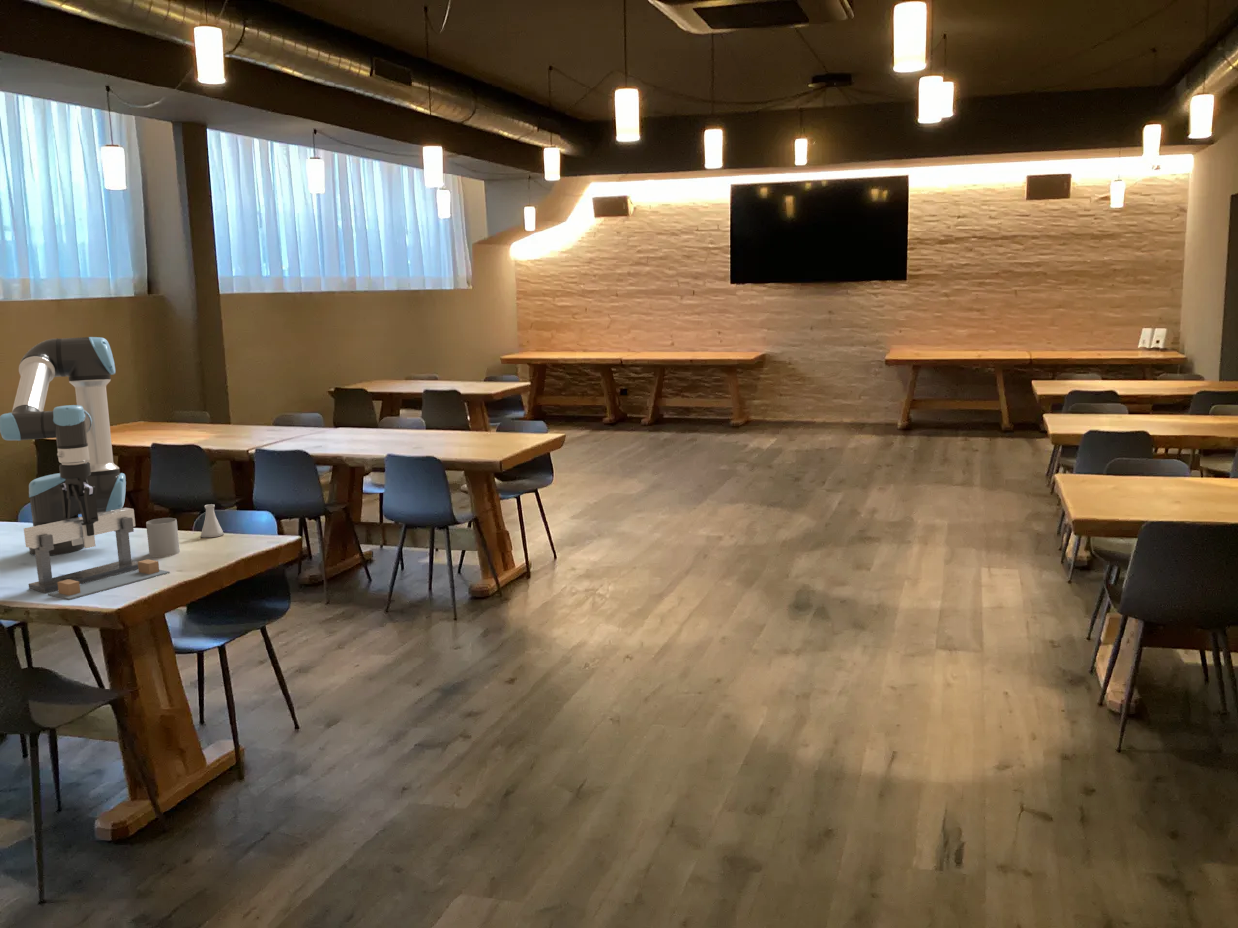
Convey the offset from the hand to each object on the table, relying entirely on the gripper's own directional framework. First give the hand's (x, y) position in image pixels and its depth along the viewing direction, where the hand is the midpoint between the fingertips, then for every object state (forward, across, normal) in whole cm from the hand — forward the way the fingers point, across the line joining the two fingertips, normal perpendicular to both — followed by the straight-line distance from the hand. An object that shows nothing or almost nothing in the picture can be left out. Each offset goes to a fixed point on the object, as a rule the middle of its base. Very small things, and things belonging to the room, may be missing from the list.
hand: (83, 545), depth 292 cm
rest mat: (+9, +11, 0) cm, 14 cm away
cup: (+10, -6, +28) cm, 30 cm away
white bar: (-3, 0, 0) cm, 3 cm away
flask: (+10, -13, +50) cm, 53 cm away
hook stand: (+9, 0, 0) cm, 9 cm away
